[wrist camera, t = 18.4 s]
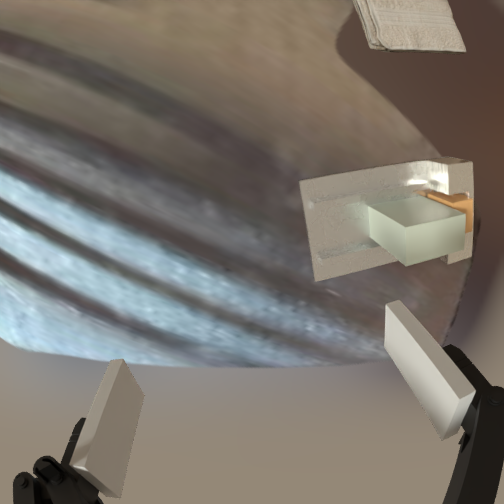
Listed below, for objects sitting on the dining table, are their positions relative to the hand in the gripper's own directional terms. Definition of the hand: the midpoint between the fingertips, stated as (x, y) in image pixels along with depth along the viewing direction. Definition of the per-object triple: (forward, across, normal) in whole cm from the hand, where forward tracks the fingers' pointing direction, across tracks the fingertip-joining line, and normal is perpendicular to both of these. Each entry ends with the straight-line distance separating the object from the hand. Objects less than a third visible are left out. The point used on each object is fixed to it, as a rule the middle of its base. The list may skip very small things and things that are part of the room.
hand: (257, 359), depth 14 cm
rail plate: (+27, +20, -4) cm, 34 cm away
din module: (+26, +21, -4) cm, 34 cm away
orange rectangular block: (+26, +29, -4) cm, 39 cm away
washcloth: (+27, +30, +25) cm, 48 cm away
